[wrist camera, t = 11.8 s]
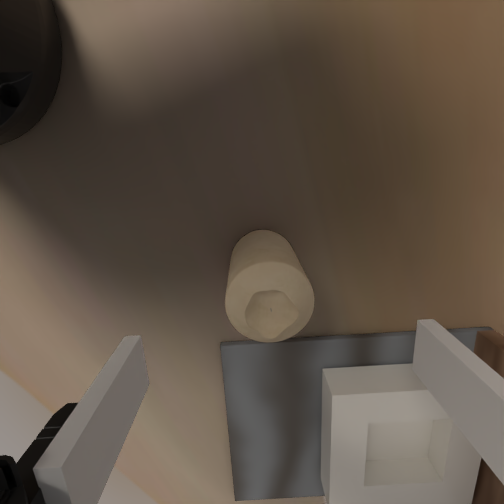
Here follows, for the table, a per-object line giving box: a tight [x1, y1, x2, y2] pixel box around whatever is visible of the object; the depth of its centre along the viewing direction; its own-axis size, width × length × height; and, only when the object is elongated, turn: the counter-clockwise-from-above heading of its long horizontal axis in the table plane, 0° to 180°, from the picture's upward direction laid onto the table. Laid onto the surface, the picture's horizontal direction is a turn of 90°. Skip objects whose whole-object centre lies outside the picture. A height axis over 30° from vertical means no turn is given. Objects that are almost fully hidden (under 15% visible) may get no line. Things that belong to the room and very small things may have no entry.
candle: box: [225, 230, 315, 343], centre depth 23 cm, size 6×6×10 cm
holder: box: [321, 363, 481, 504], centre depth 30 cm, size 14×14×4 cm
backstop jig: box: [220, 327, 504, 504], centre depth 28 cm, size 26×20×10 cm
